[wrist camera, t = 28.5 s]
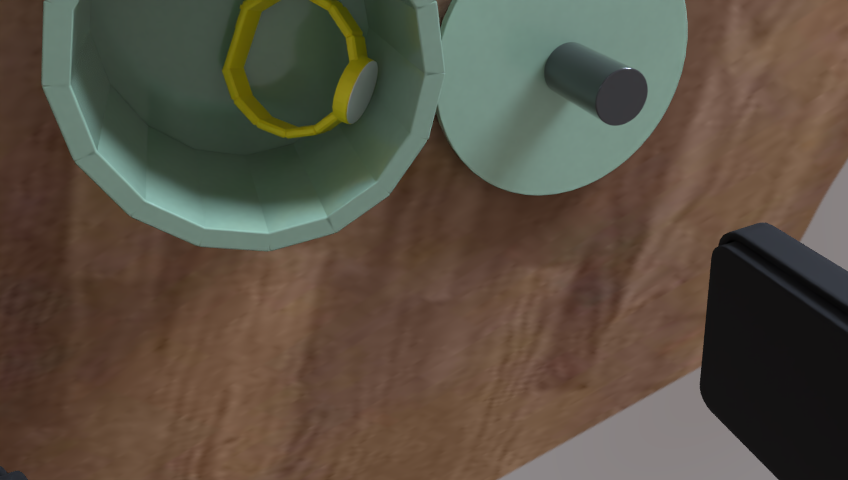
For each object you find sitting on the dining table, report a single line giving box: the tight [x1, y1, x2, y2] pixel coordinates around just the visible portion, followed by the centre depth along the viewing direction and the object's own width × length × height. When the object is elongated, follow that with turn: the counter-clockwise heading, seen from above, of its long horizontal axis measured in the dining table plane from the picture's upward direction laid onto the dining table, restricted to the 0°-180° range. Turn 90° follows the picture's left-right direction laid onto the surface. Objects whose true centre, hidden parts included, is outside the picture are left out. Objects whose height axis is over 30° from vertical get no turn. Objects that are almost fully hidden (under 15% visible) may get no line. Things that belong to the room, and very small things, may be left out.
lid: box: [436, 0, 687, 196], centre depth 34 cm, size 14×14×6 cm
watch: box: [222, 0, 378, 139], centre depth 29 cm, size 6×3×6 cm
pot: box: [41, 0, 445, 251], centre depth 27 cm, size 13×13×8 cm
